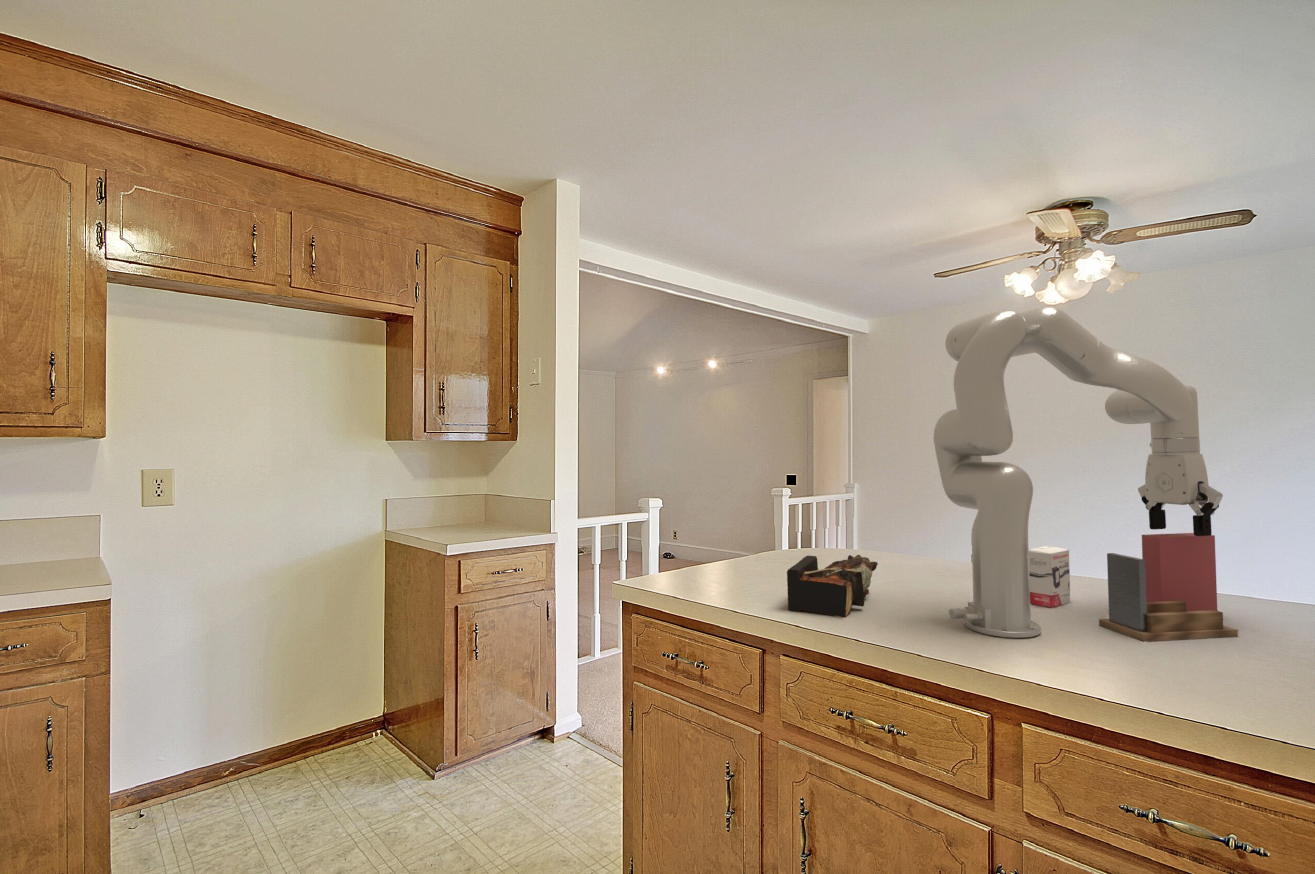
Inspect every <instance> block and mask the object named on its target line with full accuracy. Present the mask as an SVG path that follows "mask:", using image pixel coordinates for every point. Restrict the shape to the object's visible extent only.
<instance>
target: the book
mask: <svg viewBox="0 0 1315 874" xmlns="http://www.w3.org/2000/svg"><path fill="white" fill-rule="evenodd" d="M1141 551H1142V552H1141V553H1142V554H1141V557H1142V558H1141V559H1144V560H1145V572H1146V602H1161V601H1182V602H1186V611H1206V610H1216V611H1218V594H1217V593H1218V592H1217V566H1216V565H1217V560H1216V559H1217V558H1216V556H1217V555H1216V536H1215V535H1214V534H1213V535H1212V534H1211V535H1210V536H1195V535H1194V532H1184V533H1183V532H1178V533H1157V534H1155V533H1154V534H1141Z"/></svg>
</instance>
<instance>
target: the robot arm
mask: <svg viewBox="0 0 1315 874" xmlns="http://www.w3.org/2000/svg"><path fill="white" fill-rule="evenodd" d="M944 343H945V349H946V351H947V353H948V356H949V357H951V358H952V359H953V360H954V361H956V362H957V363H956V367H955V371H954V375H953V391H954V397H955V404H956V405H955V406H956V408H955V409H952V410H949V411H946V412H945V413H943V414H942V415H941V416H940V417H939V418H938V419H937V421H936V424H935V425H934V426H935V427H934V429H933V444H934V445H933V446H934V450H935V454H936V455H935V456H936V460H937V464H938V469H939V475H940V479H941V484H942V488H943V490H944V492H945V493H944V494H945V495H946V496H947V498H948V499H949V500H950V501H951V503H952V504H955V505H956V506H959V507H961V508H966V509H972V510H977V513H976V515H975V519H974V520H973V524H972V528H971V535H970V536H971V539H970V540H971V564H972V566H971V567H972V569H971V570H972V593H973V594H972V596H973V597H972V598H973V599H972V601H968V602H967V606H965V607H964V608H949V610H948V616H949V618H950V619H951V620H959V619H960V620H961V619H963V620H964V624H965V626H966V627H967V628H968V629H969V630H972V631H974V632H976V633H977V632H978V633H980V634H984V635H989V636H994V637H1000V638H1011V639H1021V638H1023V639H1024V638H1033V637H1037V636H1038V635H1040V634H1041V633H1042V632H1041V631H1042V628H1041V627H1042V626H1041V625H1040V624H1039V623H1038V622H1036V621H1034V620H1031V616H1032V614H1031V613H1032V612H1031V604H1030V579H1029V550H1030V548H1029V518H1030V511H1031V507H1032V501H1033V496H1034V495H1033V494H1034V485H1033V481H1032V479H1031V477H1030V475H1029V474H1028V473H1027V471H1025V470H1024V469H1023V468H1022V467H1020V466H1019V465H1016V464H1013V463H1010V462H1003V461H983V458H982V457H990V456H997V455H1000V454H1003V453H1005V452H1007V451H1008V450H1009V449H1010V448H1011V446H1012V445H1013V440H1014V439H1013V438H1014V433H1013V426H1012V425H1013V424H1012V421H1011V416H1010V411H1009V405H1008V401H1007V396H1006V389H1005V380H1004V379H1005V371H1006V369H1007V366H1008V363H1009V361H1010V360H1011V358H1013V357H1020V356H1024V355H1028V354H1029V355H1030V354H1038V355H1039V356H1041V358H1043V359H1044V360H1045V361H1046V362H1048V363H1049V364H1050V365H1052V366H1053V367H1055V369H1057V370H1058V371H1059V372H1061V373H1062V374H1063V375H1065V376H1066V377H1067V378H1068V379H1070V380H1071V381H1074V382H1077V383H1081V384H1085V385H1090V386H1095V387H1102V388H1110V389H1114V390H1115V391H1113V392H1112V393H1111V394H1110V395H1109V396H1108V397H1107V398H1106V400H1105V403H1104V410H1105V412H1106V414H1107V416H1108V418H1110V419H1111V420H1113V421H1114V422H1116V423H1118V424H1119V423H1121V424H1125V425H1137V424H1139V425H1141V424H1143V425H1144V424H1150V425H1149V426H1150V443H1149V447H1150V448H1151V453H1149V454H1148V456H1147V460H1146V464H1145V465H1146V467H1145V474H1144V475H1145V477H1144V478H1145V479H1144V481H1145V483H1144V484H1143V485H1141V486H1139V487H1138V488H1137V491H1138V493H1139V496H1140V497H1141V501H1142V503H1143V504H1144V506H1145V510H1147V511H1148V519H1149V520H1148V523H1149V529H1150V530H1153V531H1155V530H1165V529H1166V528H1167V519H1166V518H1167V516H1166V515H1167V514H1166V509H1163V508H1164V506H1165V505H1166V504H1169V505H1178V506H1179V505H1180V506H1186V505H1188V506H1189V507H1190V508H1191V510H1192V511H1193V512H1194V513H1195V514H1194V515H1192V527H1193V528H1192V529H1193V532H1192V533H1194V535H1195V536H1210V535H1212V516H1214V514H1215V512H1216V510H1218V509H1219V507H1220V504H1221V501H1222V499H1223V496H1224V495H1223V493H1222V492H1220V491H1218V490H1217V489H1215V488H1213V487H1212V486H1210V485H1209V478H1208V472H1207V471H1208V470H1207V467H1206V463H1205V458H1204V456H1203V453H1201V444H1200V443H1201V442H1200V427H1199V426H1200V425H1199V407H1198V405H1199V404H1198V401H1199V400H1198V391H1197V389H1196V388H1195V387H1193V386H1192V385H1184V383H1183V382H1182V381H1181V380H1179V379H1178V378H1177V377H1176V376H1174V375H1173V374H1172V373H1171V372H1169V370H1167V369H1166V368H1164V367H1163V366H1162V365H1160V364H1157V363H1155V362H1153V361H1150V360H1148V359H1145V358H1142V357H1140V356H1137V355H1134V354H1131V353H1128V352H1126V351H1122V350H1118V349H1115V348H1112V347H1109V346H1107V345H1106V344H1105V343H1103V342H1102V341H1101V340H1100V339H1099V338H1097V337H1096V336H1095V335H1094V334H1092V333H1091V332H1090V331H1088V330H1087V329H1086V328H1085V327H1083V326H1082V325H1081V324H1080V323H1079V322H1077V321H1076V320H1075V319H1074V318H1072V317H1071V316H1070V315H1069V314H1068V313H1067V312H1066V311H1064V310H1062V309H1061V308H1058V307H1055V306H1041V307H1036V308H1033V309H1031V310H1026V311H1023V312H1017V311H1015V310H1009V309H1008V310H998V311H994V312H991V313H986V314H983V315H981V316H978V317H975V318H972V319H968V320H966V321H963V322H960V323H958V324H956V325H955V326H953V327H952V328H951V329H949V331H948V333H947V334H946V337H945V342H944Z"/></svg>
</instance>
